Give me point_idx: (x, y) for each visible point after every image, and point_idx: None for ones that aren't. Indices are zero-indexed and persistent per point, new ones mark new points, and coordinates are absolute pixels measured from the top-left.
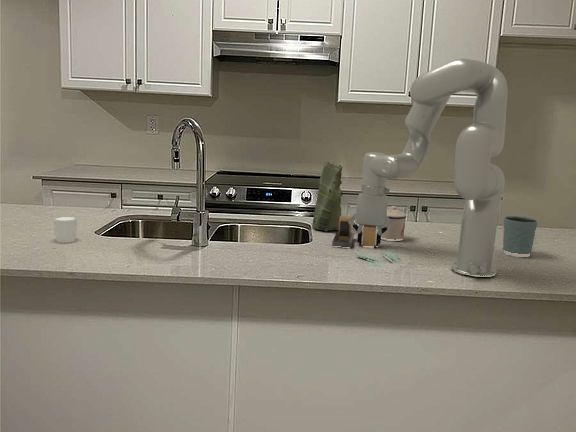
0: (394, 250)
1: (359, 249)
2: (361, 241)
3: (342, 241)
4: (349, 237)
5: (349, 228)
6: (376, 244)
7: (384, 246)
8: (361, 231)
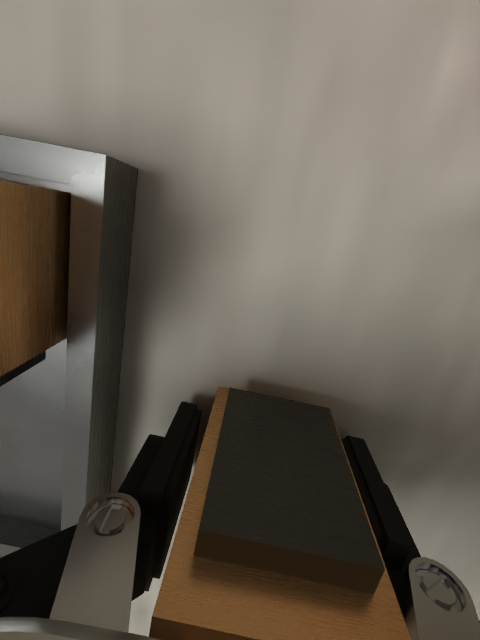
0: (471, 533)
1: (174, 530)
2: (184, 488)
3: (15, 431)
4: (63, 336)
5: None
6: None
7: (422, 427)
8: (139, 594)
